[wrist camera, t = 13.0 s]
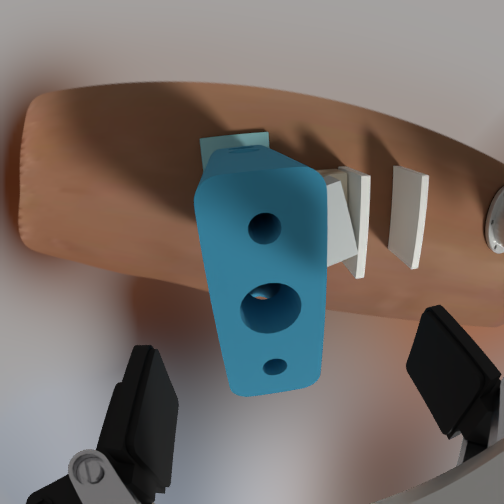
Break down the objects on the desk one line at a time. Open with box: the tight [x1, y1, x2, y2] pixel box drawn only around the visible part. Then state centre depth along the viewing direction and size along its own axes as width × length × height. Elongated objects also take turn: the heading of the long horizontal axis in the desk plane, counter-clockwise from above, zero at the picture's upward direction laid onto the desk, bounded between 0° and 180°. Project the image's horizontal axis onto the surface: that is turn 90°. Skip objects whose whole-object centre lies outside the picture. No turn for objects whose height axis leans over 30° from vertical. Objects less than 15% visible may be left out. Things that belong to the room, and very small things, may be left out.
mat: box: [200, 132, 269, 172], centre depth 31 cm, size 7×13×1 cm, turn 5°
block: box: [194, 145, 328, 397], centre depth 22 cm, size 12×5×20 cm, turn 5°
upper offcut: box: [323, 175, 358, 267], centre depth 29 cm, size 4×8×3 cm, turn 21°
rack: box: [338, 166, 429, 279], centre depth 31 cm, size 16×11×6 cm
